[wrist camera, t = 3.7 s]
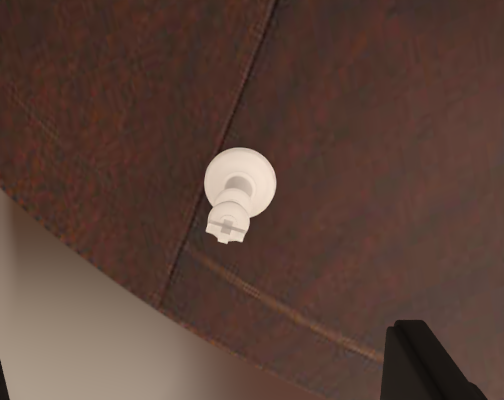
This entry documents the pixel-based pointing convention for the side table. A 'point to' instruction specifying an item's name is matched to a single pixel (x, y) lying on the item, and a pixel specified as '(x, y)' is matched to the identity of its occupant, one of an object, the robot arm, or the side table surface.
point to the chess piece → (237, 191)
